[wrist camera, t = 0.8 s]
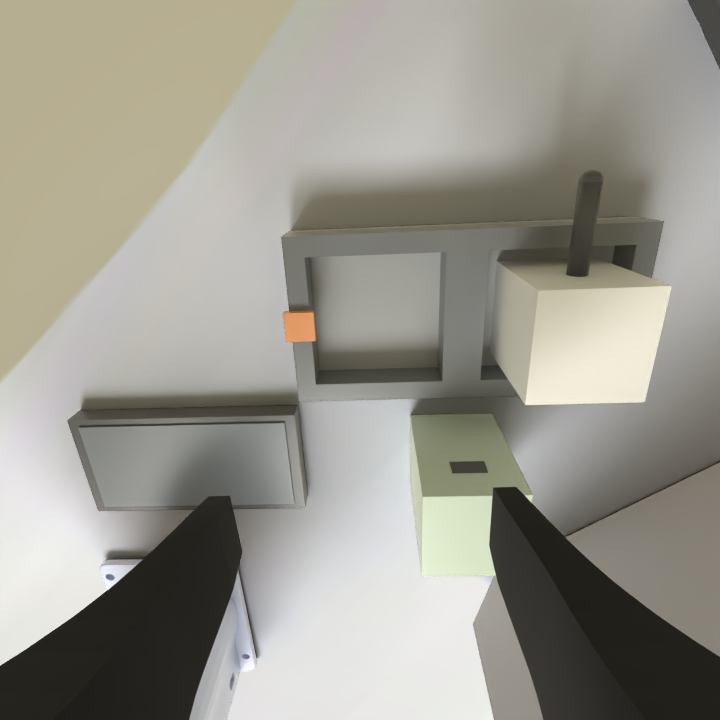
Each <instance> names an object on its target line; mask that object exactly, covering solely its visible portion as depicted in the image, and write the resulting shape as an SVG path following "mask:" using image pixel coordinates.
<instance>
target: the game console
mask: <svg viewBox="0 0 720 720" xmlns="http://www.w3.org/2000/svg"><path fill="white" fill-rule="evenodd" d="M565 538H566V539H567V540H569V541H570V542H571V543H572V544H573V545H574V546H575V547H576V548H577V549H578V550H579V551H580V552H581V553H582V554H583V555H584V556H585V557H586V558H588V559H589V560H590V561H591V562H592V563H593V564H594V565H595V566H596V567H598V568H599V569H600V570H601V571H602V572H603V573H604V574H606V575H607V576H608V577H609V578H610V579H611V580H613V581H614V582H615V583H616V584H618V585H619V586H620V587H621V588H623V589H624V590H625V591H626V592H628V593H629V594H630V595H632V596H633V597H634V598H636V599H637V600H638V601H639V602H641V603H642V604H643V605H645V606H646V607H647V608H649V609H650V610H651V611H653V612H654V613H655V614H657V615H658V616H660V617H661V618H662V619H664V620H665V621H667V622H668V623H670V624H671V625H673V626H674V627H675V628H677V629H678V630H680V631H681V632H683V633H684V634H686V635H687V636H689V637H690V638H692V639H693V640H695V641H696V642H698V643H699V644H701V645H702V646H704V647H705V648H707V649H709V650H710V651H712V652H713V653H715V654H716V655H718V656H720V462H719V463H717V464H715V465H713V466H711V467H709V468H707V469H705V470H703V471H701V472H699V473H697V474H694V475H692V476H690V477H688V478H686V479H684V480H682V481H680V482H678V483H676V484H674V485H672V486H670V487H668V488H666V489H664V490H662V491H660V492H657V493H655V494H653V495H651V496H649V497H647V498H645V499H643V500H641V501H639V502H637V503H635V504H633V505H631V506H629V507H627V508H625V509H622V510H620V511H618V512H616V513H614V514H612V515H610V516H608V517H606V518H604V519H602V520H600V521H598V522H596V523H594V524H592V525H590V526H587V527H585V528H583V529H581V530H579V531H577V532H575V533H573V534H571V535H569V536H567V537H565ZM473 627H474V631H475V636H476V640H477V645H478V649H479V654H480V658H481V663H482V667H483V672H484V676H485V681H486V685H487V690H488V694H489V699H490V703H491V708H492V712H493V717H494V720H543V717H542V713H541V709H540V706H539V702H538V698H537V694H536V691H535V688H534V685H533V681H532V678H531V675H530V672H529V669H528V666H527V664H526V661H525V658H524V655H523V653H522V650H521V647H520V644H519V641H518V639H517V636H516V633H515V630H514V627H513V625H512V622H511V619H510V616H509V614H508V611H507V608H506V605H505V602H504V599H503V597H502V594H501V591H500V588H499V585H498V582H497V578H496V576H494V577H493V580H492V582H491V584H490V587H489V589H488V591H487V593H486V596H485V598H484V600H483V602H482V605H481V607H480V609H479V612H478V614H477V616H476V618H475V621H474V623H473Z"/></svg>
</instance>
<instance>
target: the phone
mask: <svg viewBox="0 0 720 720" xmlns="http://www.w3.org/2000/svg"><path fill="white" fill-rule="evenodd" d="M67 421H68V424H69V427H70V430H71V433H72V436H73V439H74V442H75V444H76V447H77V450H78V453H79V456H80V459H81V462H82V465H83V468H84V471H85V473H86V476H87V479H88V482H89V485H90V488H91V491H92V494H93V497H94V500H95V502H96V505H97V508H98V511H129V510H195V509H196V508H197V507H198V506H199V505H200V504H201V503H202V502H203V501H204V500H205V499H206V498H207V497H208V496H230V498H231V502H232V507H233V509H266V508H305V506H306V501H307V496H308V493H307V484H306V475H305V465H304V456H303V447H302V438H301V429H300V420H299V411H298V405H279V406H238V407H197V408H157V409H116V410H80V411H79V412H77V413H76V414H75V415H74V416H72V417H71V418H70V419H69V420H67Z"/></svg>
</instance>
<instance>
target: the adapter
mask: <svg viewBox="0 0 720 720" xmlns="http://www.w3.org/2000/svg"><path fill="white" fill-rule="evenodd" d="M602 184H603V176H602V174H601V173H600V172H599V171H597V170H589V171H587V172H585V173H584V174H583V175H582V176H581V177H580V179H579V183H578V191H577V198H576V205H575V212H574V220H573V227H572V234H571V241H570V248H569V256H568V259H544V260H517V261H497V262H496V275H495V288H494V301H493V314H492V327H491V340H490V353H491V354H492V356H493V357H494V359H495V360H496V362H497V363H498V365H499V366H500V368H501V369H502V371H503V372H504V374H505V375H506V377H507V378H508V380H509V381H510V383H511V384H512V386H513V387H514V389H515V391H516V392H517V394H518V395H519V397H520V398H521V400H522V401H523V403H524V404H525V405H553V404H595V403H636V402H645V399H646V395H647V391H648V386H649V382H650V378H651V374H652V369H653V365H654V361H655V357H656V352H657V348H658V344H659V339H660V335H661V331H662V327H663V322H664V318H665V314H666V310H667V305H668V301H669V297H670V292H671V288H672V286H671V285H668V284H665V283H663V282H660V281H657V280H655V279H652V278H649V277H646V276H644V275H641V274H638V273H636V272H633V271H630V270H628V269H625V268H622V267H620V266H617V265H614V264H612V263H609V262H606V261H603V260H601V259H598V258H591V254H592V248H593V241H594V235H595V229H596V222H597V216H598V210H599V203H600V197H601V191H602Z"/></svg>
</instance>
